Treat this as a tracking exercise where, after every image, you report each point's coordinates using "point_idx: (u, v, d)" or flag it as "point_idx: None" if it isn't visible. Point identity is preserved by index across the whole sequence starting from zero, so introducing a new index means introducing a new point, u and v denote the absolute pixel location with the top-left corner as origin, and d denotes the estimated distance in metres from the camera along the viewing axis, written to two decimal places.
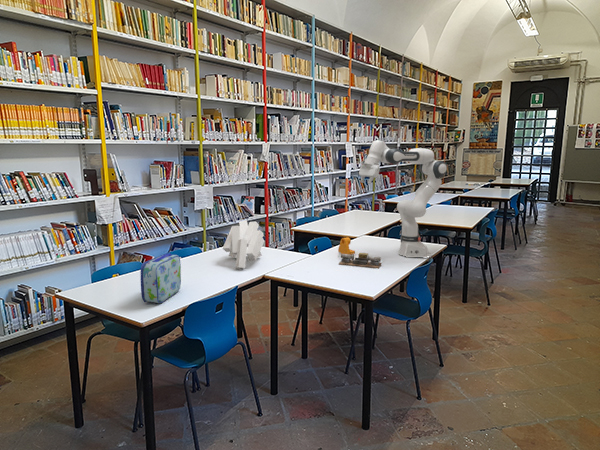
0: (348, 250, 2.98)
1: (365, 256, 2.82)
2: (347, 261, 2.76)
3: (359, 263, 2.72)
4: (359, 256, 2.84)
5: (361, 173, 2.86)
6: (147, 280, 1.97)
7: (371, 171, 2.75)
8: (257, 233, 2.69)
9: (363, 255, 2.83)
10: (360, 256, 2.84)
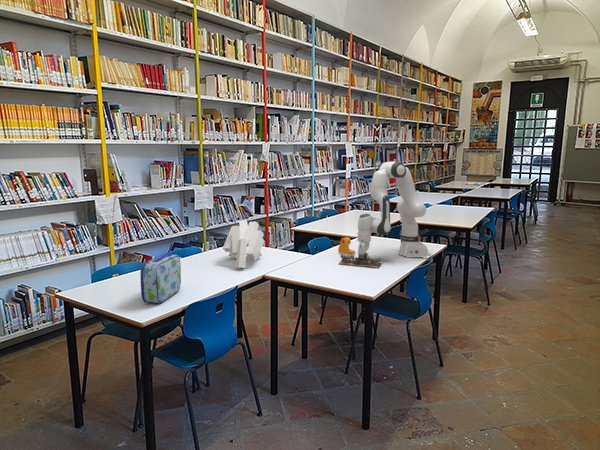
0: (348, 250, 2.98)
1: (365, 256, 2.82)
2: (347, 261, 2.76)
3: (359, 263, 2.72)
4: (359, 256, 2.84)
5: None
6: (147, 280, 1.97)
7: None
8: (257, 233, 2.69)
9: None
10: (360, 256, 2.84)
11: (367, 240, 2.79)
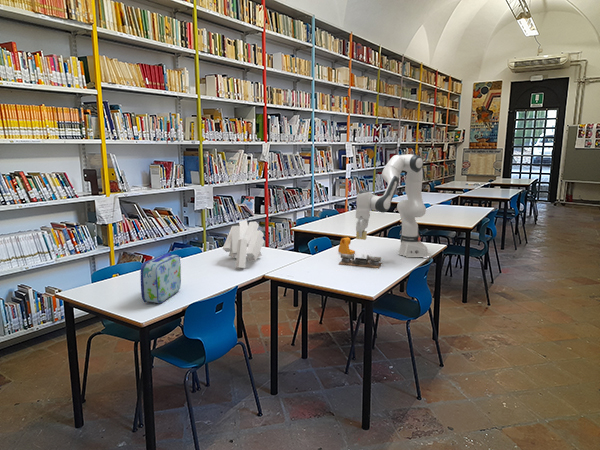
0: (348, 250, 2.98)
1: (363, 234, 2.74)
2: (347, 261, 2.76)
3: (359, 263, 2.72)
4: (357, 234, 2.75)
5: None
6: (147, 280, 1.97)
7: None
8: (257, 233, 2.69)
9: None
10: (358, 234, 2.75)
11: (366, 217, 2.70)
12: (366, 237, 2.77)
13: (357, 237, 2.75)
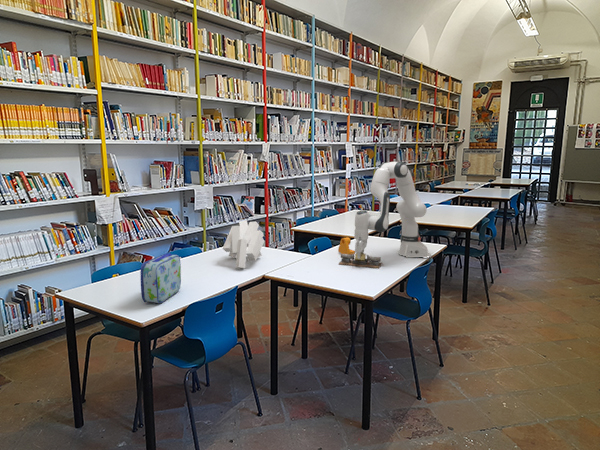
0: (348, 250, 2.98)
1: (362, 256, 2.73)
2: (347, 261, 2.76)
3: (359, 263, 2.72)
4: (356, 256, 2.74)
5: None
6: (147, 280, 1.97)
7: None
8: (257, 233, 2.69)
9: (360, 255, 2.73)
10: None
11: (364, 238, 2.69)
12: (365, 259, 2.77)
13: None
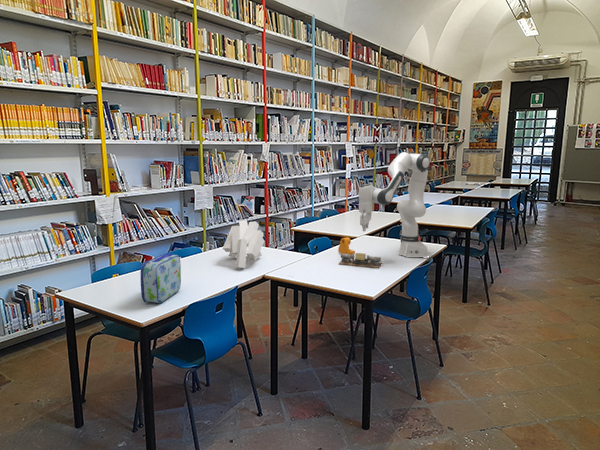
0: (348, 250, 2.98)
1: (362, 256, 2.73)
2: (347, 261, 2.76)
3: (359, 263, 2.72)
4: (356, 256, 2.74)
5: None
6: (147, 280, 1.97)
7: None
8: (257, 233, 2.69)
9: (360, 255, 2.73)
10: (357, 257, 2.74)
11: (369, 210, 2.72)
12: (365, 259, 2.77)
13: None
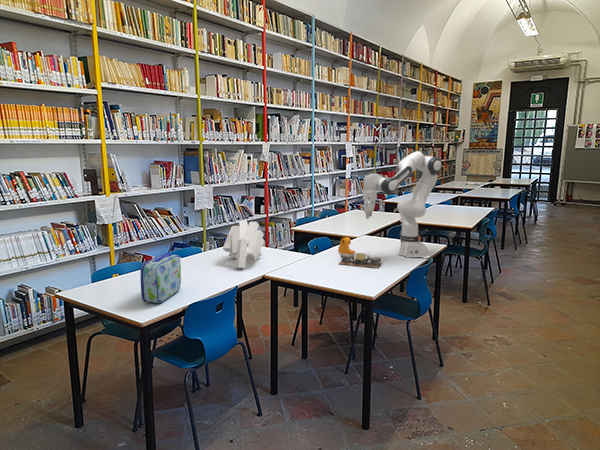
0: (348, 250, 2.98)
1: (362, 256, 2.73)
2: (347, 261, 2.76)
3: (359, 263, 2.72)
4: (356, 256, 2.74)
5: None
6: (147, 280, 1.97)
7: None
8: (257, 233, 2.69)
9: (360, 255, 2.73)
10: (357, 257, 2.74)
11: (373, 198, 2.77)
12: (365, 259, 2.77)
13: None
